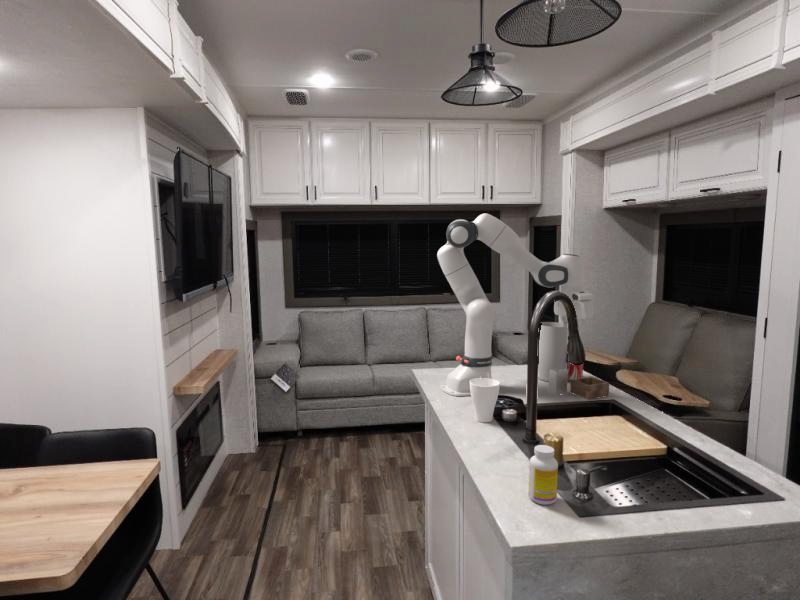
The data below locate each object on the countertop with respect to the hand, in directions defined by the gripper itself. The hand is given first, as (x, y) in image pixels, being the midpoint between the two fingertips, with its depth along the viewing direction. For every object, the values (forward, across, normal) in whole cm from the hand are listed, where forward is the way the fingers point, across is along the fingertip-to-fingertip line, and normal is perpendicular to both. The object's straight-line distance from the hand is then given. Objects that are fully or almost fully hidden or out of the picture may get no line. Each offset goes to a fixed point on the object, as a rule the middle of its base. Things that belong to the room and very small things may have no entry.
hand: (573, 328), depth 202 cm
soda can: (+28, -17, +13) cm, 35 cm away
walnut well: (+28, +2, +6) cm, 28 cm away
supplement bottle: (+27, +66, -62) cm, 94 cm away
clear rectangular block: (+27, -3, -6) cm, 28 cm away
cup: (+25, +14, -49) cm, 57 cm away
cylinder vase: (+27, -22, +5) cm, 35 cm away
